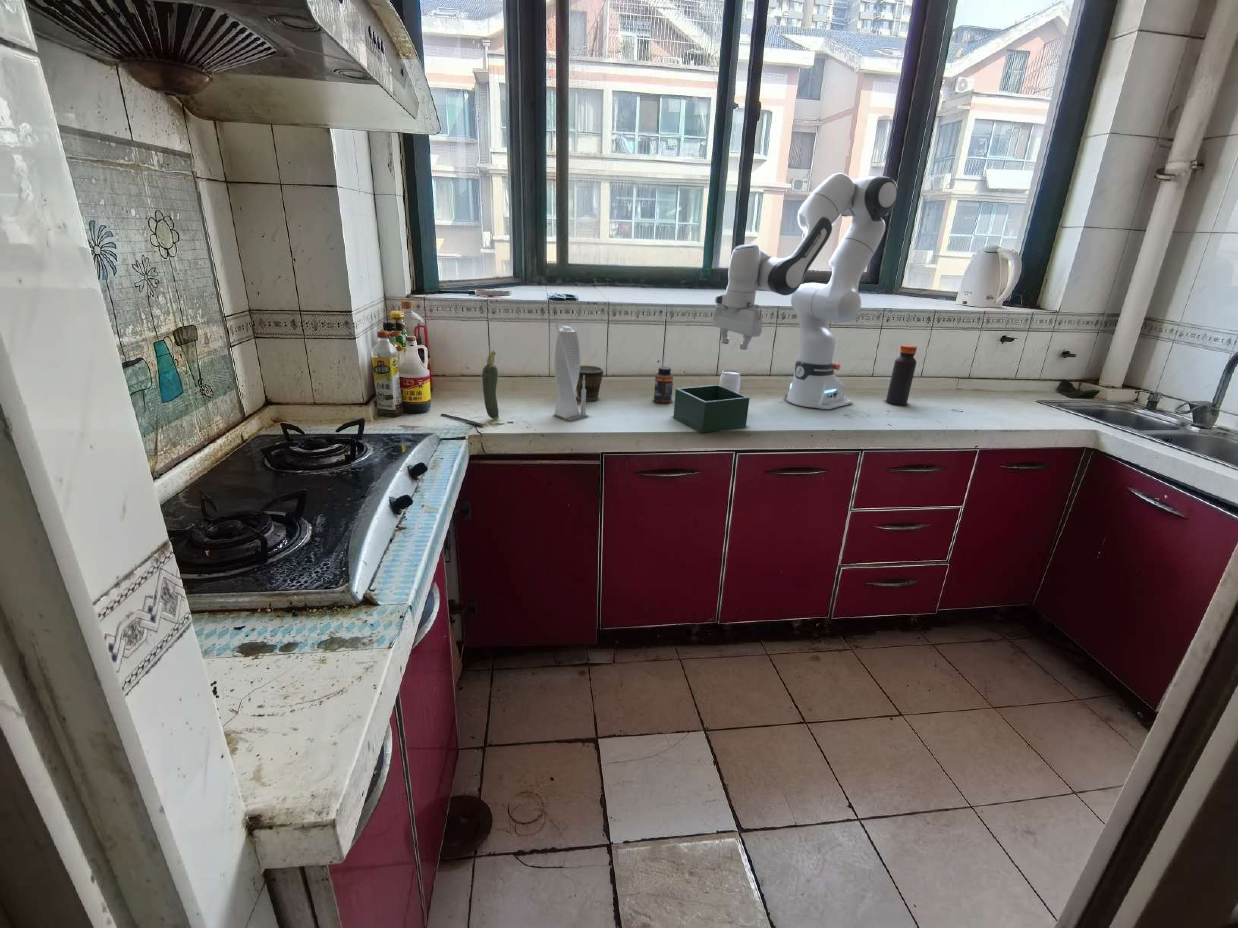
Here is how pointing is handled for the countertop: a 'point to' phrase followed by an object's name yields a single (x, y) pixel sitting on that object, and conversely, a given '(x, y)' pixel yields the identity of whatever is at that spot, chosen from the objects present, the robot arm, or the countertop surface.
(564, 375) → the skyscraper
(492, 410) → the vegetable
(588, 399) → the ceramic cup
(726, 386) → the can
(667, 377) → the supplement bottle
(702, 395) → the bin
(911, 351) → the vinegar
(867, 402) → the countertop surface
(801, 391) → the robot arm
